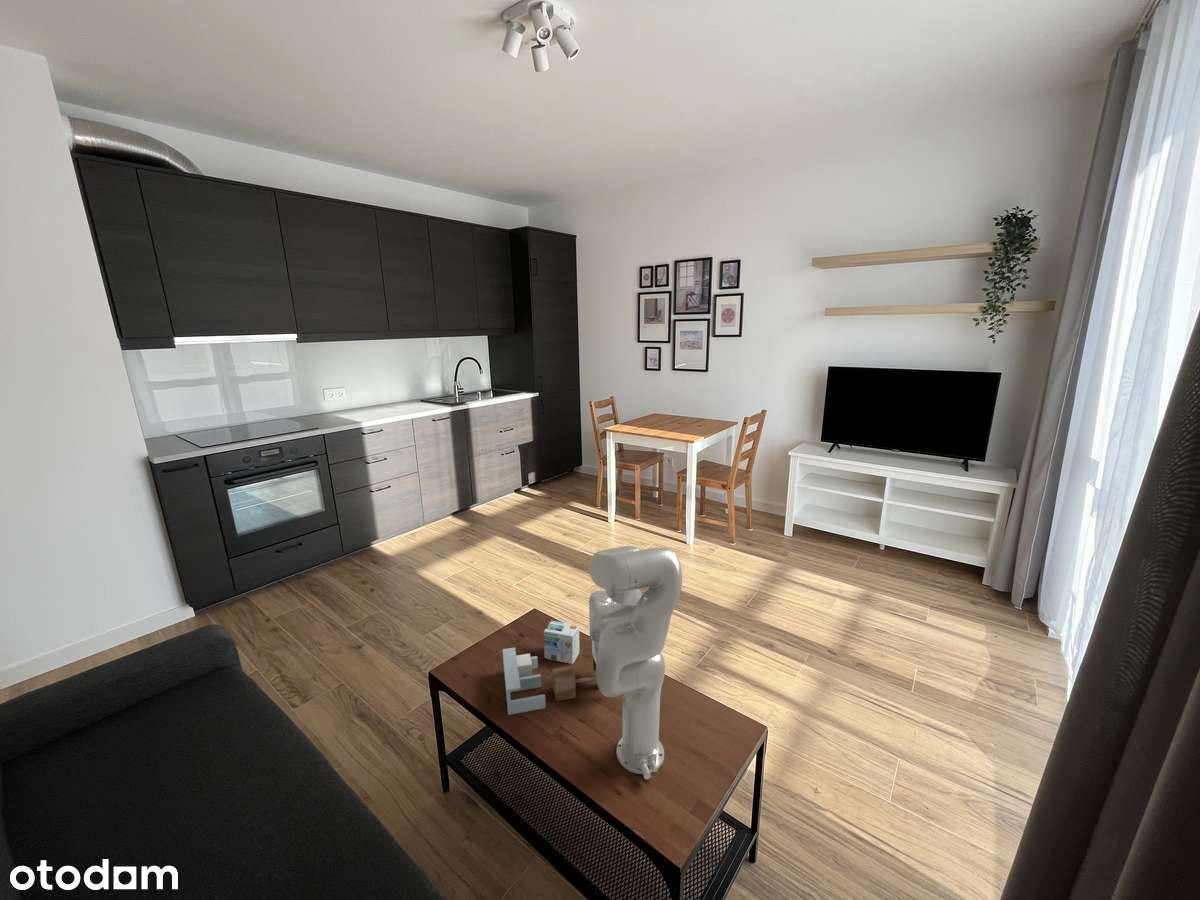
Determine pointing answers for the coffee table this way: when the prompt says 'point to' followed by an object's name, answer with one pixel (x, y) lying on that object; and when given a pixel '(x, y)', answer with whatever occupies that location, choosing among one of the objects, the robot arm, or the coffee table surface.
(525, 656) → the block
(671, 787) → the coffee table surface
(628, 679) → the robot arm
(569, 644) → the light bulb box
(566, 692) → the tethered block
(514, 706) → the lane cubby
